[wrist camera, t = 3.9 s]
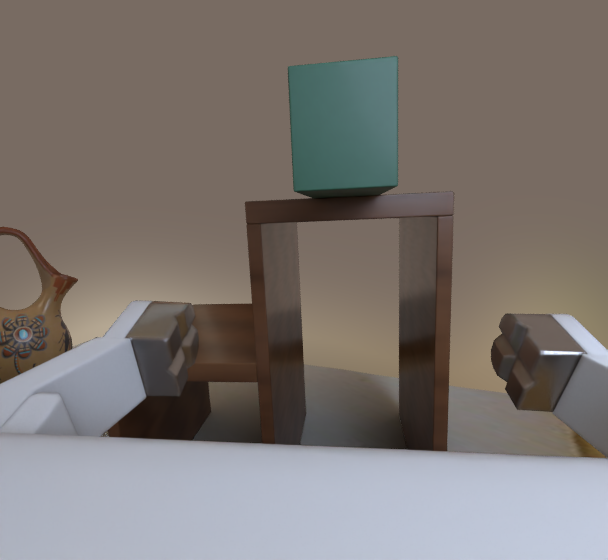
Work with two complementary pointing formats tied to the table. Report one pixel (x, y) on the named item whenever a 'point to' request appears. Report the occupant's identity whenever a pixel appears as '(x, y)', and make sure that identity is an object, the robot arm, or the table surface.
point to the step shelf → (288, 324)
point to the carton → (344, 127)
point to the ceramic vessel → (34, 320)
